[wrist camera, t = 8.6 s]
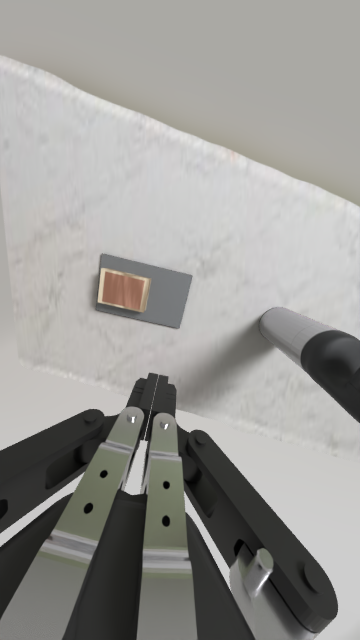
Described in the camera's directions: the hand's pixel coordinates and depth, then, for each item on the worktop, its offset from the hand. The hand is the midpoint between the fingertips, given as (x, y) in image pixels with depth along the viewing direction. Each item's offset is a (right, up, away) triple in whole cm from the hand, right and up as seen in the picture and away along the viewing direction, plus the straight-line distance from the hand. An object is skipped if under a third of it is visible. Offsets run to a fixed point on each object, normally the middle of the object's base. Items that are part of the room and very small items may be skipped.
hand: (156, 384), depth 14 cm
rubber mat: (-7, +12, +32) cm, 35 cm away
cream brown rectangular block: (-6, +11, +30) cm, 33 cm away
